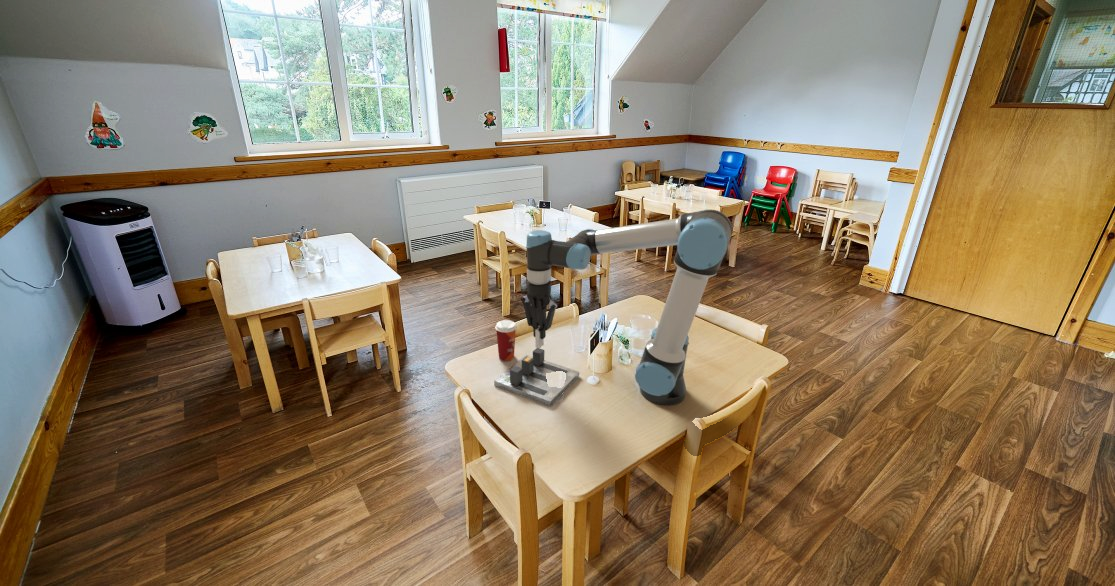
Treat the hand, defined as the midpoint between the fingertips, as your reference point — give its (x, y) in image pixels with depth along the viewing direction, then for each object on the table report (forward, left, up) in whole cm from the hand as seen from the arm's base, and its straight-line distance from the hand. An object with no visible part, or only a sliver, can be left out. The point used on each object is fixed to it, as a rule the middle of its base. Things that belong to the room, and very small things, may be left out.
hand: (539, 346), depth 156 cm
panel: (+1, 0, -14) cm, 14 cm away
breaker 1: (+5, +7, -12) cm, 15 cm away
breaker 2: (+5, -7, -12) cm, 14 cm away
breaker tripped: (+5, 0, -12) cm, 13 cm away
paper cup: (+19, -7, -14) cm, 24 cm away
